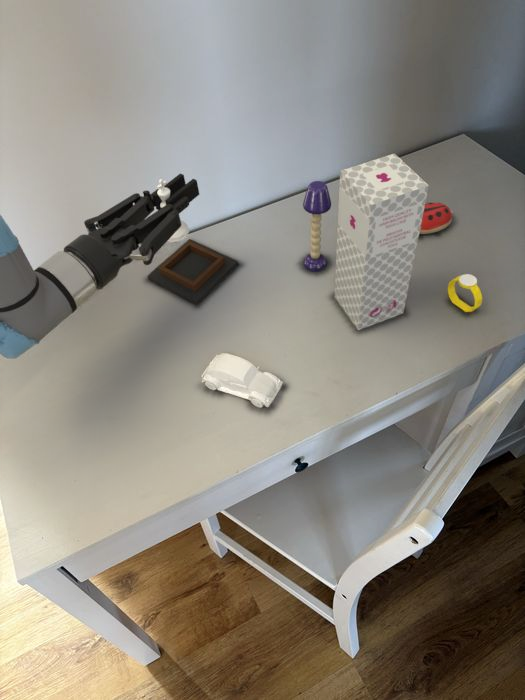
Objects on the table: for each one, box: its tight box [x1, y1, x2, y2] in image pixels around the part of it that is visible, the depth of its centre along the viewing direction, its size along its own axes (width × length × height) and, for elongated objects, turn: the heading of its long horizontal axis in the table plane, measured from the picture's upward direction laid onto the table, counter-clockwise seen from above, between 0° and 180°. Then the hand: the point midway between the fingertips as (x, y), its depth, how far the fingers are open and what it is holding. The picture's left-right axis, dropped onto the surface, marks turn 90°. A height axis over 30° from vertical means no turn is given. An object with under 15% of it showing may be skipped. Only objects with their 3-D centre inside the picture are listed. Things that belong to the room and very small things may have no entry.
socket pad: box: [147, 238, 240, 306], centre depth 98 cm, size 12×12×2 cm
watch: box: [447, 273, 483, 313], centre depth 87 cm, size 6×3×6 cm, turn 34°
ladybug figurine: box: [419, 202, 454, 235], centre depth 101 cm, size 7×10×4 cm
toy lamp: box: [302, 180, 332, 272], centre depth 92 cm, size 5×5×17 cm
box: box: [334, 153, 430, 331], centre depth 81 cm, size 8×8×25 cm
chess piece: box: [156, 178, 190, 243], centre depth 84 cm, size 5×5×10 cm
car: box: [200, 352, 284, 409], centre depth 81 cm, size 12×6×5 cm, turn 61°
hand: (189, 184), depth 86 cm, fingers closed on chess piece, 2 cm apart
